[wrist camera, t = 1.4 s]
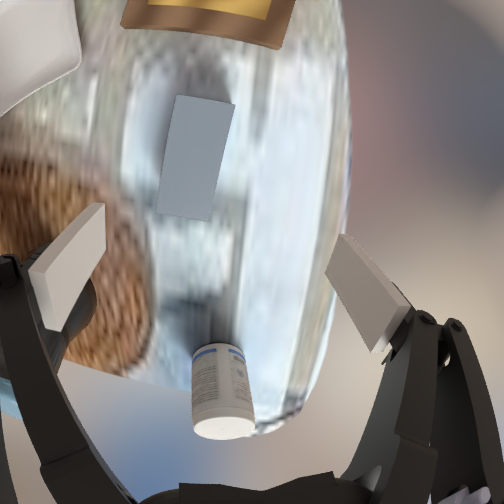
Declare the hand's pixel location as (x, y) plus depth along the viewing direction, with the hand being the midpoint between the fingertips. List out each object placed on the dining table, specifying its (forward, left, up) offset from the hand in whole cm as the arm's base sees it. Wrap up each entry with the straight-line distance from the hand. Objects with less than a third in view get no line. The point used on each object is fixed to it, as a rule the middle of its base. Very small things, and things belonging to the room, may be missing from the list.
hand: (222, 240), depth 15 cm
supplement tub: (+6, -33, -19) cm, 39 cm away
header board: (-6, +21, -19) cm, 29 cm away
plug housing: (-3, +1, -19) cm, 19 cm away
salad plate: (-32, +15, -20) cm, 40 cm away
